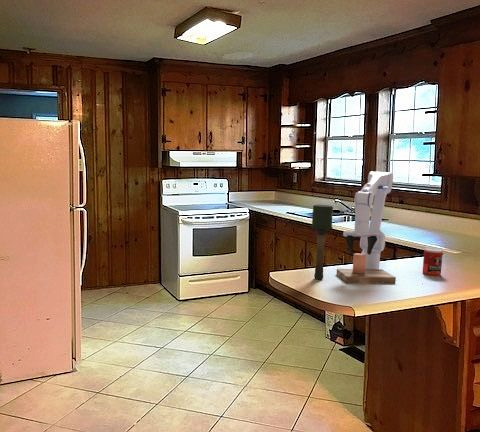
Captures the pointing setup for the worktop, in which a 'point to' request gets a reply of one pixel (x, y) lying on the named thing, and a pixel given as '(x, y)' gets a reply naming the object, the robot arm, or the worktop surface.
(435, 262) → the canned food
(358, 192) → the robot arm
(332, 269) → the worktop surface
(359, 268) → the peg
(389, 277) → the board
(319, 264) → the potato masher grenade
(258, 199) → the worktop surface
